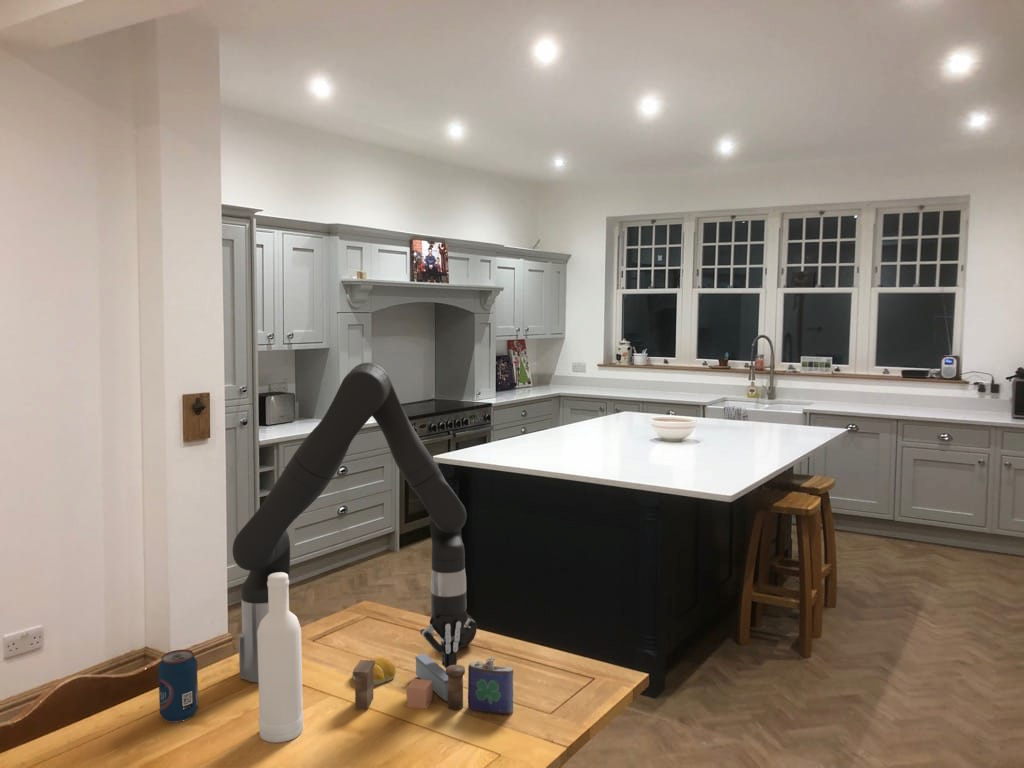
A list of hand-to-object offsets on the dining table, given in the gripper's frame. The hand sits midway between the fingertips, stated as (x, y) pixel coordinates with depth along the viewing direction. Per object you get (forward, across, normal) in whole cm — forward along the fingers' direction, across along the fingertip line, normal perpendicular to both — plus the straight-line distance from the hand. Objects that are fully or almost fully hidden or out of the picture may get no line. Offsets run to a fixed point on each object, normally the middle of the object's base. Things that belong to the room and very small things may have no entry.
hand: (449, 668), depth 173 cm
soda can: (+2, -52, +13) cm, 54 cm away
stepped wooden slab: (+2, -20, -1) cm, 20 cm away
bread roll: (+3, -14, +9) cm, 17 cm away
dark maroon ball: (+3, +10, +15) cm, 18 cm away
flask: (+3, +1, -16) cm, 17 cm away
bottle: (+2, -37, -4) cm, 37 cm away
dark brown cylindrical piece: (+2, -5, -12) cm, 13 cm away
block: (+2, -10, -6) cm, 12 cm away
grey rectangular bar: (+2, -5, -2) cm, 6 cm away
